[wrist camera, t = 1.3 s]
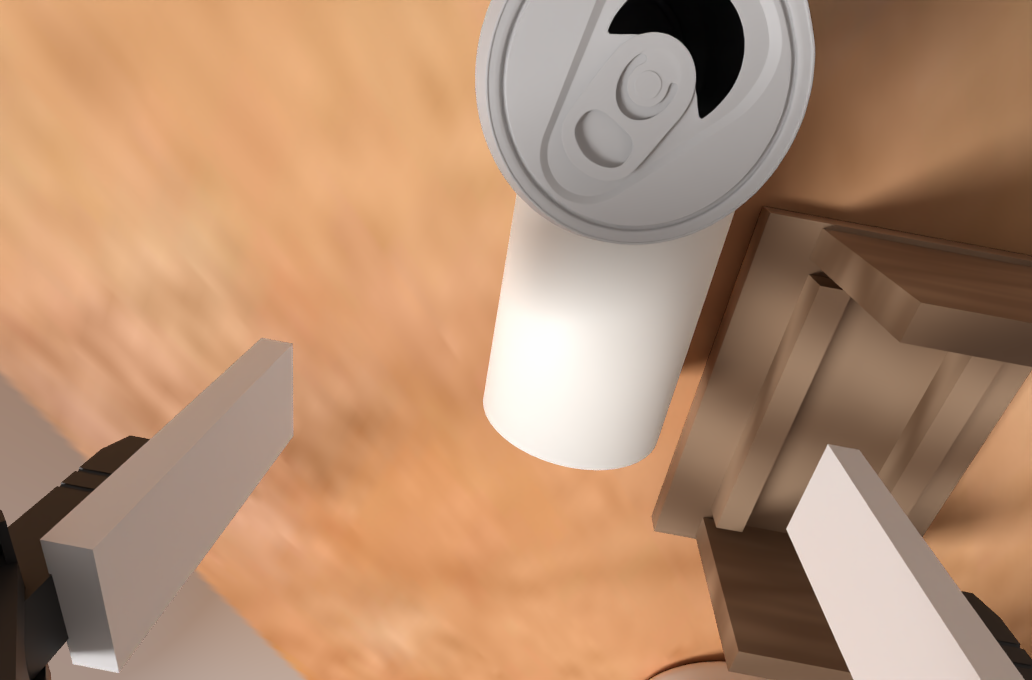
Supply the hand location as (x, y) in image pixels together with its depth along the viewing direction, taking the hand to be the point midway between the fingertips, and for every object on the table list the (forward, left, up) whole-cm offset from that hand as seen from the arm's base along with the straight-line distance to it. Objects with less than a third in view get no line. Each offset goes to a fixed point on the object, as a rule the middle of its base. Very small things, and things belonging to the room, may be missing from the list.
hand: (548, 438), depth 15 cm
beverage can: (-8, 0, -11) cm, 14 cm away
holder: (+4, +13, -11) cm, 18 cm away
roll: (0, 0, -11) cm, 11 cm away
